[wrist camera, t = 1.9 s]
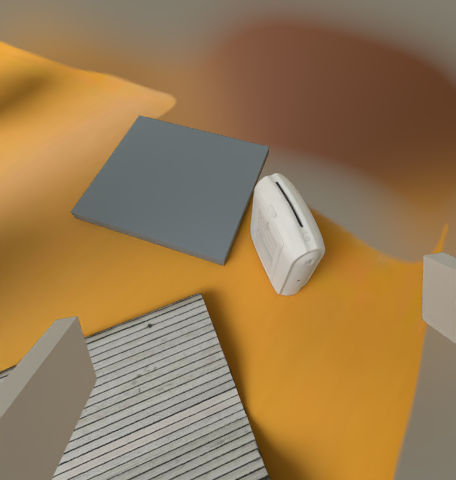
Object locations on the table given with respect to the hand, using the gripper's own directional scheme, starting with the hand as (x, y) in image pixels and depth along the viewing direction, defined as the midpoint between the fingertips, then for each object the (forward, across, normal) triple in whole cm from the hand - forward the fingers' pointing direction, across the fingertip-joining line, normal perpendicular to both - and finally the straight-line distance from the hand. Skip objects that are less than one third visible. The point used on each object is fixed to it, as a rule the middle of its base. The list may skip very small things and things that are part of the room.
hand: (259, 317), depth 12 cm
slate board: (+36, -5, +3) cm, 37 cm away
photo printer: (+27, +6, -8) cm, 29 cm away
